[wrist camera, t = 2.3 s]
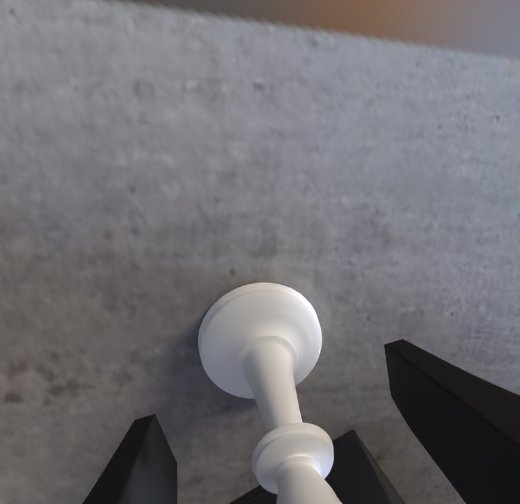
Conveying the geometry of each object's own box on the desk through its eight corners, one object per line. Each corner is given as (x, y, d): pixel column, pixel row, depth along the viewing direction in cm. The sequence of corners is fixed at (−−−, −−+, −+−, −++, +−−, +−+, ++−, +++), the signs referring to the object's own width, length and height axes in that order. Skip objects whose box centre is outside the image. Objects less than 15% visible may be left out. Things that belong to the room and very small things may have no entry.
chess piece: (221, 404, 15) (252, 871, 5) (179, 307, 13) (115, 738, 4) (330, 365, 15) (542, 747, 6) (302, 264, 13) (537, 568, 4)
